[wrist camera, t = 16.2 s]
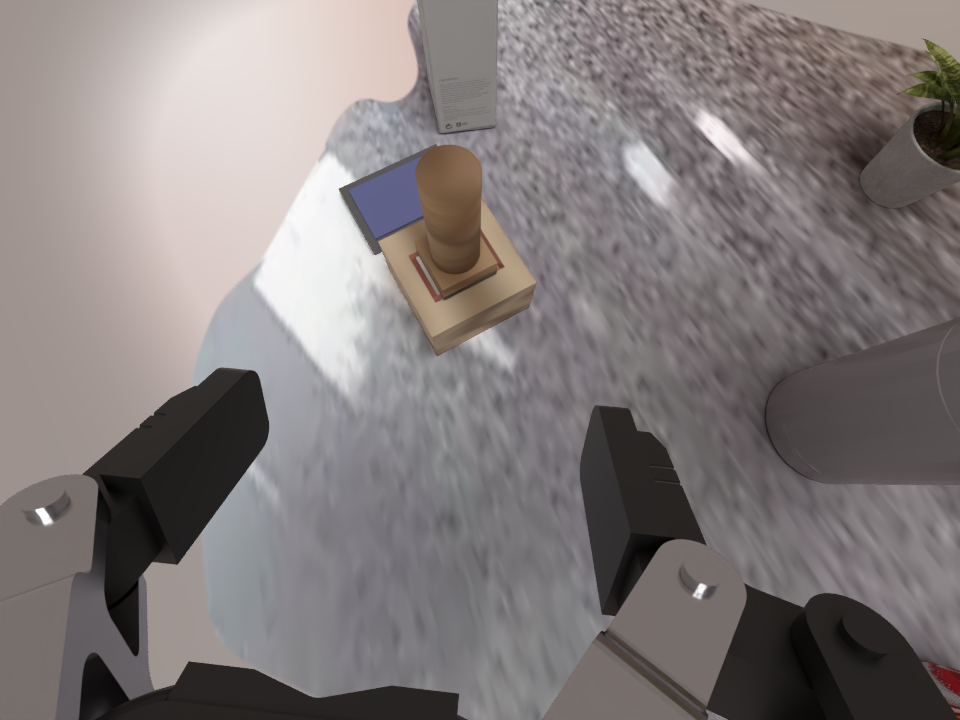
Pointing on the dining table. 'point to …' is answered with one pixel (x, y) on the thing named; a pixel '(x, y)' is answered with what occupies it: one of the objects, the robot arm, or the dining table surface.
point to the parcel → (470, 307)
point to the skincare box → (461, 61)
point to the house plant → (921, 141)
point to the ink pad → (386, 200)
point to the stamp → (452, 220)
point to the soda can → (946, 683)
